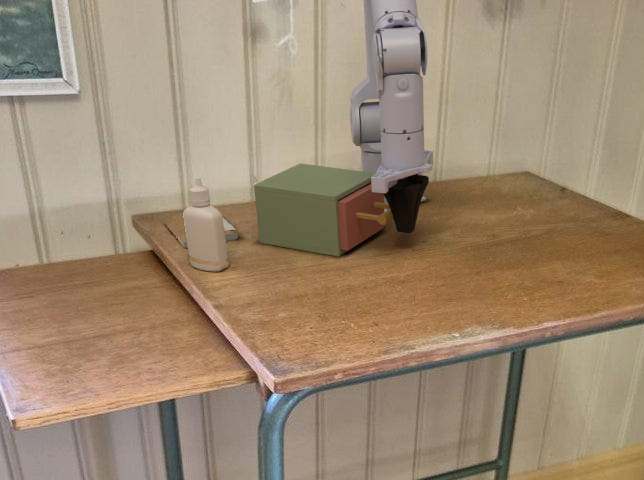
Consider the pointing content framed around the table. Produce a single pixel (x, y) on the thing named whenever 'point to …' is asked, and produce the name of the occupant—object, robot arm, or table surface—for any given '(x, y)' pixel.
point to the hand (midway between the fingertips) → (405, 231)
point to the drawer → (361, 216)
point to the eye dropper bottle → (204, 230)
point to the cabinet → (305, 207)
